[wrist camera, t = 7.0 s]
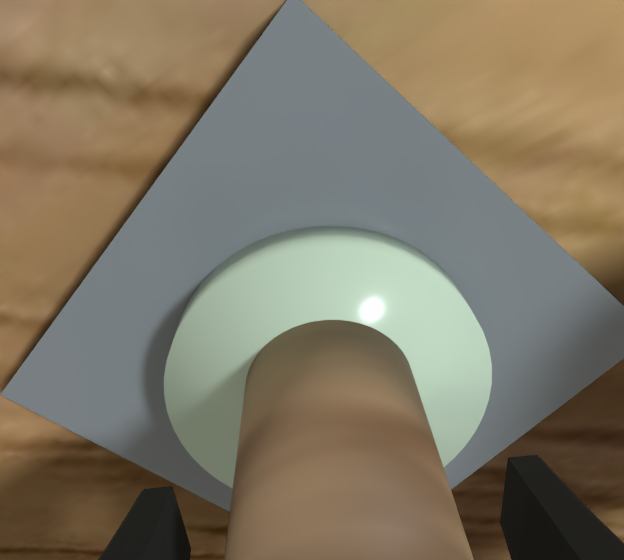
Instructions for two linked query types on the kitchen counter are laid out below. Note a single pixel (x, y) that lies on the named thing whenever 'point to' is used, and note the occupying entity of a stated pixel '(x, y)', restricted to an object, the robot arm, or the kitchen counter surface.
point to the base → (303, 175)
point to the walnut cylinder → (338, 455)
